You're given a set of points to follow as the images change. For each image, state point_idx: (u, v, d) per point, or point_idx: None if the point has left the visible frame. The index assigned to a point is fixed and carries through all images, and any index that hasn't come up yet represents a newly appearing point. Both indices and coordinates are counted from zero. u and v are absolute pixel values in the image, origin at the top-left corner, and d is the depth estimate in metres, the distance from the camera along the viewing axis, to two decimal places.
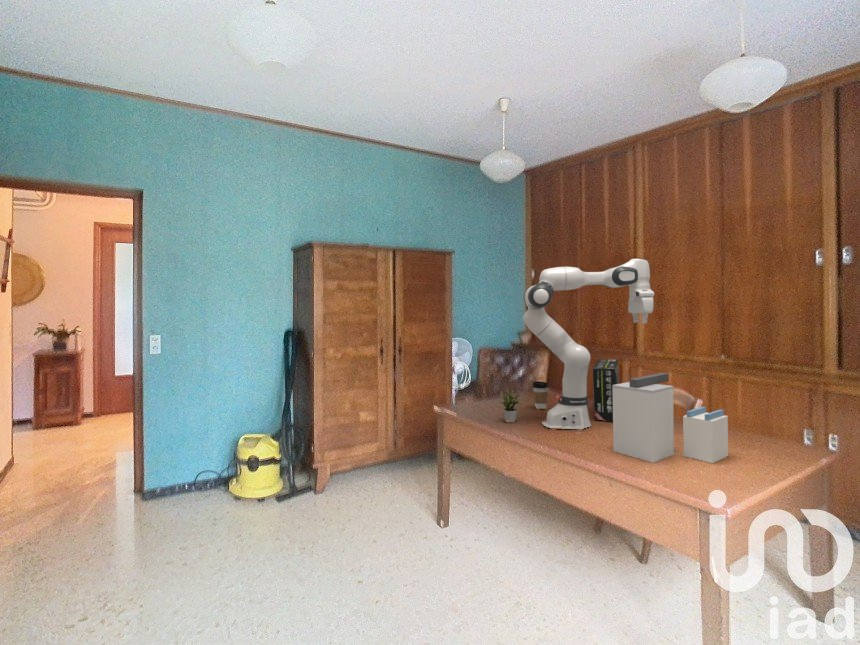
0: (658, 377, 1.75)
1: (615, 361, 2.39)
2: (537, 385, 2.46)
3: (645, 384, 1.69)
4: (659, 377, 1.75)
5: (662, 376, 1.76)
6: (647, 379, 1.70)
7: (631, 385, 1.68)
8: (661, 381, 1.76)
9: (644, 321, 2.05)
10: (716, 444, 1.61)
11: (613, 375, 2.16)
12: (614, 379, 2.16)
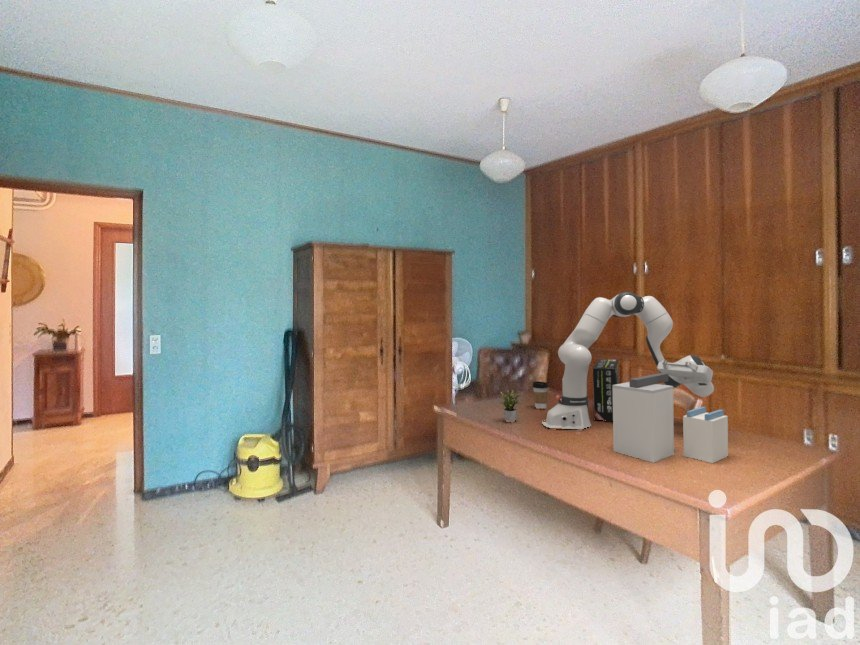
0: (658, 377, 1.75)
1: (615, 361, 2.39)
2: (537, 385, 2.46)
3: (645, 384, 1.69)
4: (659, 377, 1.75)
5: (662, 376, 1.76)
6: (647, 379, 1.70)
7: (631, 385, 1.68)
8: (661, 381, 1.76)
9: (689, 364, 1.80)
10: (716, 444, 1.61)
11: (613, 375, 2.16)
12: (614, 379, 2.16)
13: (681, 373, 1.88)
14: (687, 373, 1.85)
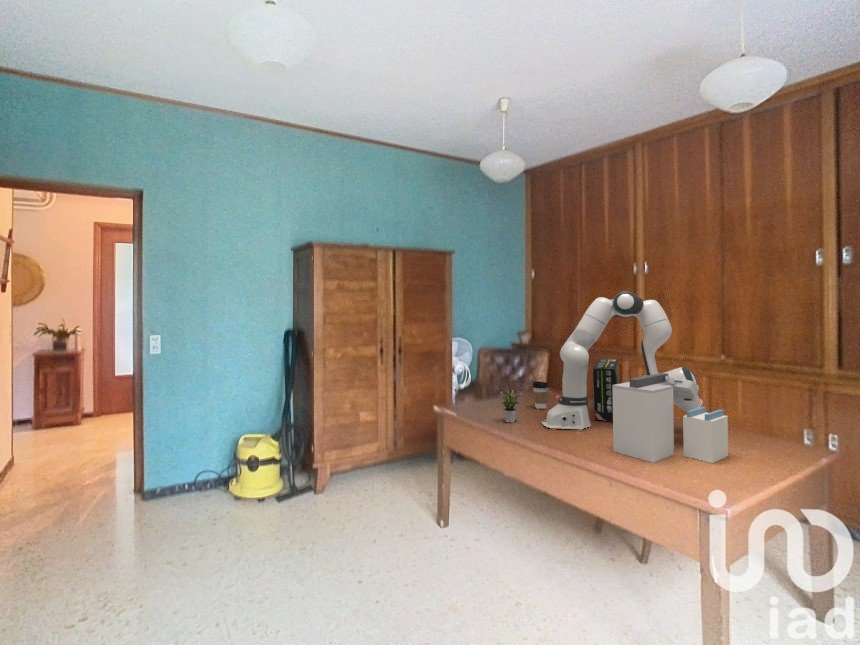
0: (658, 377, 1.75)
1: (615, 361, 2.39)
2: (537, 385, 2.46)
3: (645, 384, 1.69)
4: (659, 377, 1.75)
5: (662, 376, 1.76)
6: (647, 379, 1.70)
7: (631, 385, 1.68)
8: (661, 381, 1.76)
9: (668, 378, 1.76)
10: (716, 444, 1.61)
11: (613, 375, 2.16)
12: (614, 379, 2.16)
13: None
14: None
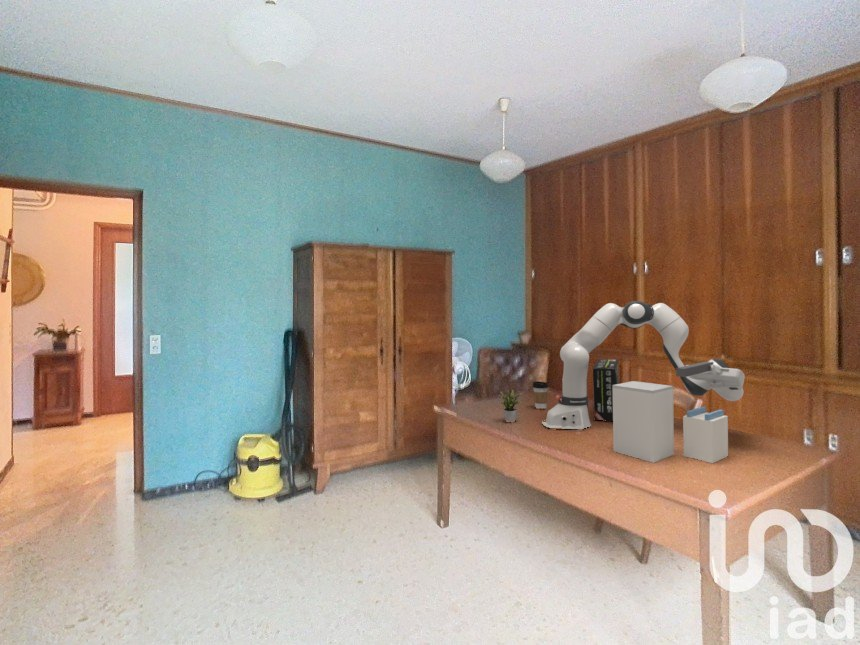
0: (704, 366, 1.70)
1: (615, 361, 2.39)
2: (537, 385, 2.46)
3: (692, 373, 1.65)
4: (705, 366, 1.71)
5: (707, 365, 1.72)
6: (694, 368, 1.66)
7: (678, 374, 1.64)
8: (707, 370, 1.71)
9: (713, 366, 1.71)
10: (716, 444, 1.61)
11: (613, 375, 2.16)
12: (614, 379, 2.16)
13: (710, 377, 1.77)
14: (717, 377, 1.74)
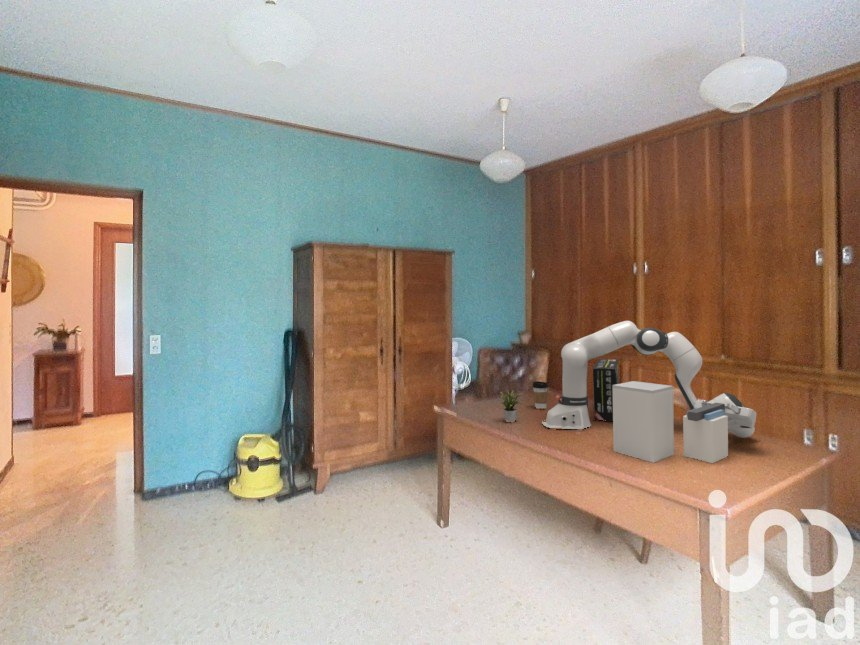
0: (715, 408, 1.67)
1: (615, 361, 2.39)
2: (537, 385, 2.46)
3: (704, 416, 1.62)
4: (716, 408, 1.68)
5: (719, 407, 1.69)
6: (705, 411, 1.63)
7: (690, 418, 1.61)
8: None
9: (732, 406, 1.67)
10: (716, 444, 1.61)
11: (613, 375, 2.16)
12: (614, 379, 2.16)
13: None
14: (728, 415, 1.71)
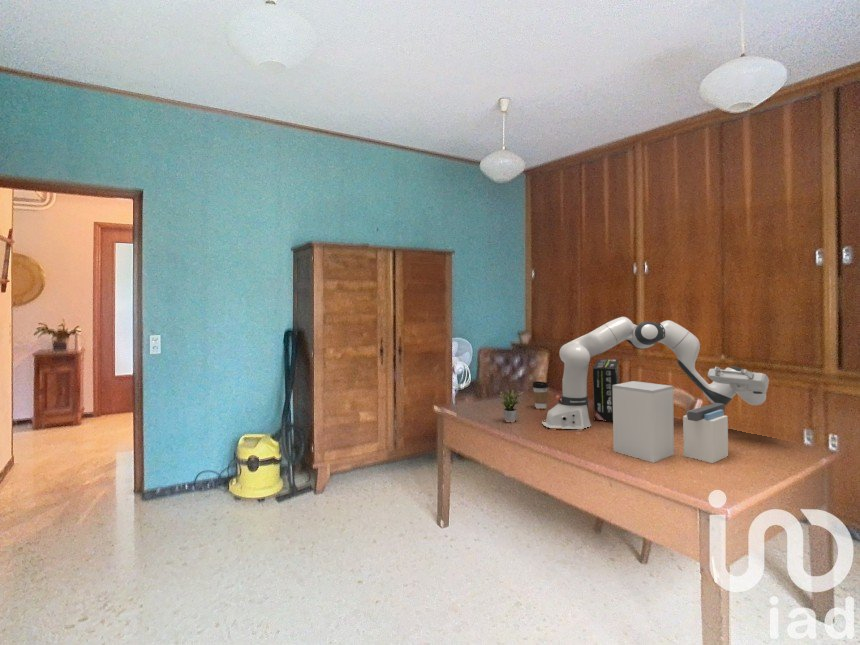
0: (715, 408, 1.67)
1: (615, 361, 2.39)
2: (537, 385, 2.46)
3: (704, 416, 1.62)
4: (716, 408, 1.68)
5: (719, 407, 1.69)
6: (705, 411, 1.63)
7: (690, 418, 1.61)
8: None
9: (746, 371, 1.73)
10: (716, 444, 1.61)
11: (613, 375, 2.16)
12: (614, 379, 2.16)
13: (735, 381, 1.80)
14: (741, 381, 1.77)
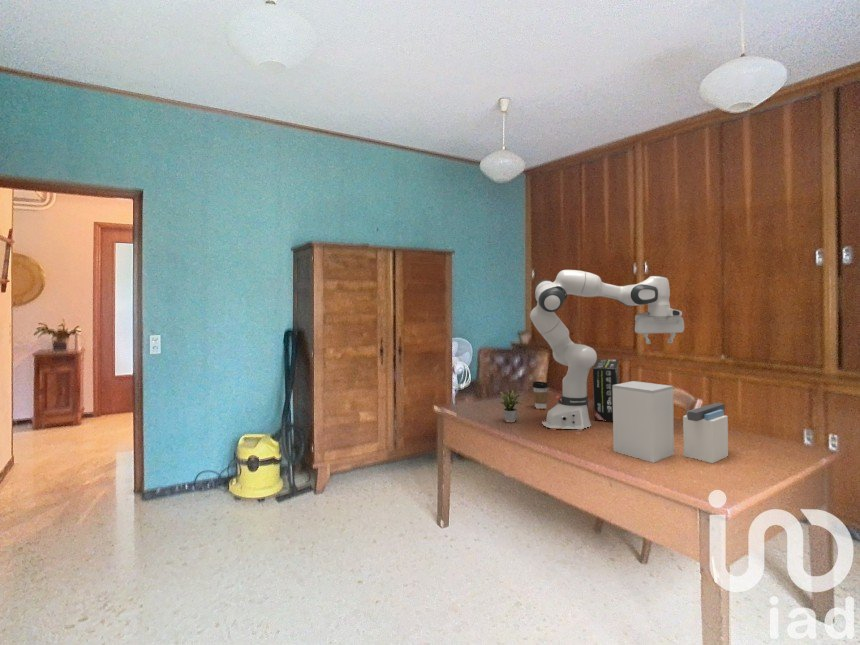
0: (715, 408, 1.67)
1: (615, 361, 2.39)
2: (537, 385, 2.46)
3: (704, 416, 1.62)
4: (716, 408, 1.68)
5: (719, 407, 1.69)
6: (705, 411, 1.63)
7: (690, 418, 1.61)
8: None
9: None
10: (716, 444, 1.61)
11: (613, 375, 2.16)
12: (614, 379, 2.16)
13: None
14: None
